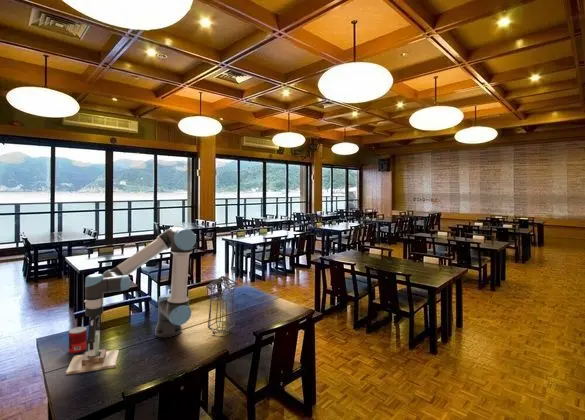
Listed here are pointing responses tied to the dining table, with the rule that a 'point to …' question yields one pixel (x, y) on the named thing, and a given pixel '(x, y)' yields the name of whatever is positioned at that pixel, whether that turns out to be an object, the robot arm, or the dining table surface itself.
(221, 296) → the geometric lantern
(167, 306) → the robot arm
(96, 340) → the peg
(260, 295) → the dining table surface
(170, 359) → the dining table surface
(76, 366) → the socket board
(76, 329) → the canned food
